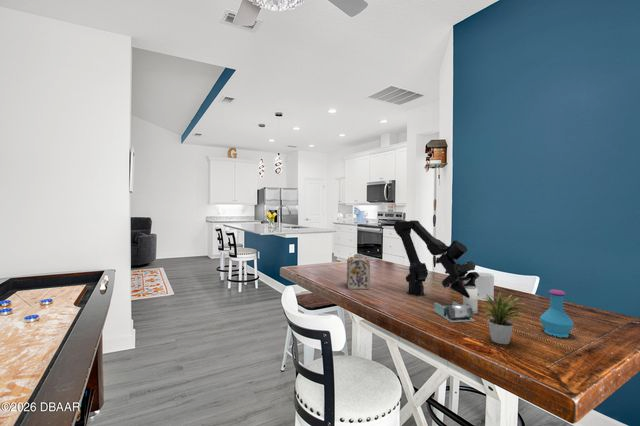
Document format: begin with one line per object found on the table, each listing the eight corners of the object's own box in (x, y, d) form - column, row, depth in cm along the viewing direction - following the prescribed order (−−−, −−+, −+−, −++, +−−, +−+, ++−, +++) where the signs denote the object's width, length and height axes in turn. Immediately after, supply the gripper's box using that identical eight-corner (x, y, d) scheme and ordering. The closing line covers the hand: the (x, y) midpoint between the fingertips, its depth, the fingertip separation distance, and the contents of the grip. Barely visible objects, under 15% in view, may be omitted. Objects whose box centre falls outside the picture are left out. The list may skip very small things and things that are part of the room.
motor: (432, 310, 126) (433, 297, 126) (453, 309, 128) (453, 296, 128) (451, 322, 113) (452, 307, 113) (474, 321, 115) (474, 306, 114)
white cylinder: (460, 311, 126) (460, 286, 126) (465, 308, 130) (466, 284, 130) (474, 314, 122) (475, 289, 121) (479, 311, 125) (480, 286, 125)
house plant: (505, 355, 87) (506, 300, 87) (465, 337, 100) (466, 288, 100) (535, 347, 93) (536, 295, 93) (494, 330, 106) (495, 284, 106)
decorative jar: (370, 289, 158) (370, 256, 158) (348, 289, 158) (348, 255, 158) (366, 284, 170) (367, 252, 170) (346, 283, 170) (347, 252, 170)
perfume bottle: (575, 341, 98) (577, 296, 97) (541, 335, 102) (542, 291, 102) (570, 332, 105) (571, 289, 105) (538, 326, 110) (539, 286, 110)
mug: (472, 300, 140) (472, 275, 140) (464, 295, 149) (464, 271, 149) (497, 301, 140) (498, 276, 140) (488, 296, 148) (488, 272, 148)
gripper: (448, 256, 124) (472, 289, 115) (475, 253, 133) (500, 283, 124) (432, 271, 131) (454, 303, 122) (459, 268, 140) (481, 297, 131)
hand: (473, 296), depth 124 cm, fingers closed on white cylinder, 5 cm apart
